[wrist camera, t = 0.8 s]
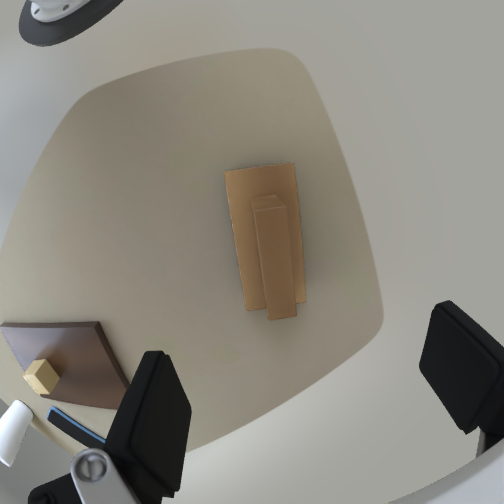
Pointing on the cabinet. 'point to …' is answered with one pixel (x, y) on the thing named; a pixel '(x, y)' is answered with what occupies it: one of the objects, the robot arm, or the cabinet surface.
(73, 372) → the book
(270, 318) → the brown block with base
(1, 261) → the cabinet surface
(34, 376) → the cream foam cube
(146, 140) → the cabinet surface
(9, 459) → the drinking glass
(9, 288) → the cabinet surface
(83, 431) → the smartphone
